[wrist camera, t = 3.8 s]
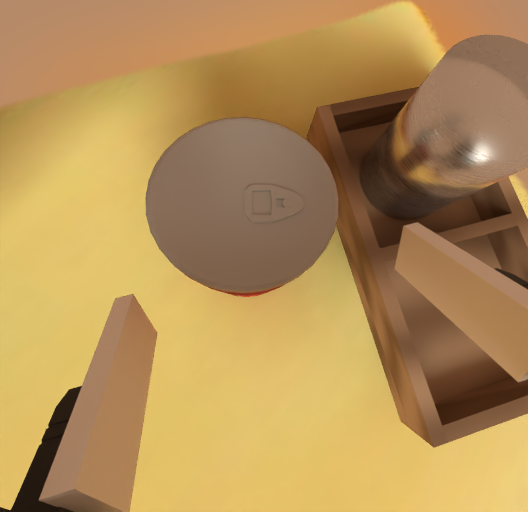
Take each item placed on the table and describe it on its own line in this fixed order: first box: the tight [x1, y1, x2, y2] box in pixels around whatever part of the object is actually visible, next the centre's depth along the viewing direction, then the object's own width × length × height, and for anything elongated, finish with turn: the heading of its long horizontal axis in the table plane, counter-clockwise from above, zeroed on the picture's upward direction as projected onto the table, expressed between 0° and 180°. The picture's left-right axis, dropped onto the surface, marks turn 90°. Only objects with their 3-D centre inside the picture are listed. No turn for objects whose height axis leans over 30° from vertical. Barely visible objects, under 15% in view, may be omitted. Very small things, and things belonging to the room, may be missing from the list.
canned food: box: [146, 117, 338, 297], centre depth 16 cm, size 8×8×11 cm
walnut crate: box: [307, 87, 528, 447], centre depth 20 cm, size 25×13×4 cm, turn 15°
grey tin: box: [359, 35, 528, 221], centre depth 17 cm, size 8×8×9 cm
